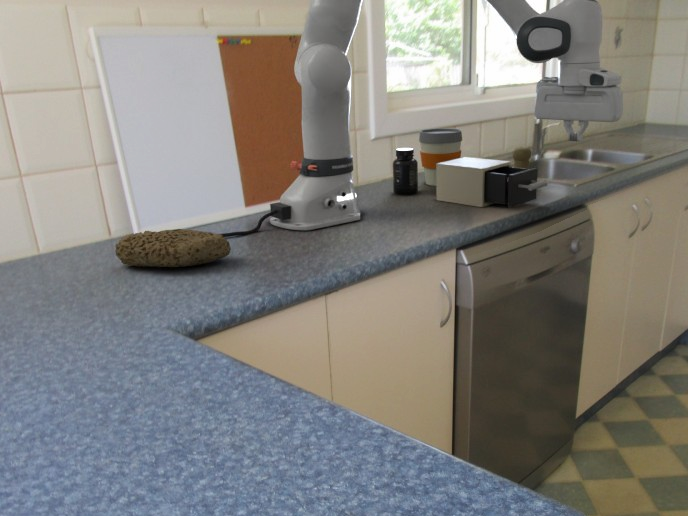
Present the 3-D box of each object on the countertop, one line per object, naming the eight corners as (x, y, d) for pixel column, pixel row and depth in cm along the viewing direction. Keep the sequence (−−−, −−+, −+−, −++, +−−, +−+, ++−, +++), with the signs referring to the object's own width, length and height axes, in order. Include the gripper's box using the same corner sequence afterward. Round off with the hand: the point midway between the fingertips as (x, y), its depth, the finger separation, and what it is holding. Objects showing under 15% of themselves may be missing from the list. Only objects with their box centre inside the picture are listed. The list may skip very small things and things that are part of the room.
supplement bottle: (388, 193, 185) (387, 149, 180) (407, 189, 188) (406, 146, 184) (403, 196, 179) (402, 151, 175) (423, 193, 183) (422, 149, 179)
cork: (525, 190, 183) (526, 149, 179) (505, 188, 186) (506, 148, 182) (535, 186, 187) (536, 147, 183) (515, 184, 191) (517, 145, 187)
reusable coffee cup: (426, 188, 189) (425, 134, 184) (415, 180, 201) (413, 129, 195) (467, 185, 192) (468, 132, 187) (454, 177, 203) (454, 127, 198)
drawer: (551, 201, 165) (552, 169, 163) (527, 209, 158) (528, 177, 155) (491, 193, 177) (492, 163, 174) (466, 200, 169) (466, 170, 166)
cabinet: (509, 198, 174) (511, 161, 171) (482, 207, 165) (482, 168, 162) (464, 192, 183) (465, 156, 180) (436, 200, 174) (436, 163, 171)
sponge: (114, 277, 125) (197, 265, 117) (105, 236, 124) (189, 221, 116) (163, 269, 137) (242, 257, 129) (156, 231, 136) (235, 217, 128)
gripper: (529, 77, 150) (527, 140, 155) (615, 77, 137) (610, 145, 142) (543, 76, 155) (541, 136, 160) (628, 76, 142) (623, 141, 147)
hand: (575, 140), depth 151 cm, fingers closed
